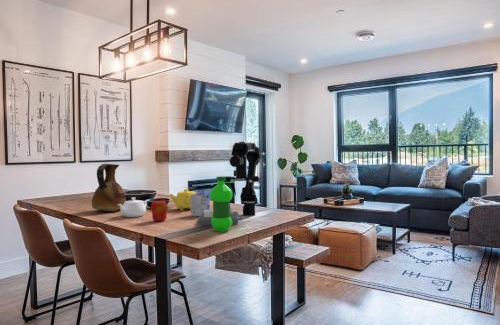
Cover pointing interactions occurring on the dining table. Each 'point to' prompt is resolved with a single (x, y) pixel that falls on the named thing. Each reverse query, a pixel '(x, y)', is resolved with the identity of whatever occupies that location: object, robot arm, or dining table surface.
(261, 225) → the dining table surface
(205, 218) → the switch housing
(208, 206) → the ink cartridge box
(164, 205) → the red rounded piece
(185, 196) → the teapot
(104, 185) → the ceramic pitcher
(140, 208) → the teapot
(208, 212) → the pale grey cube
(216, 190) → the plastic bottle
